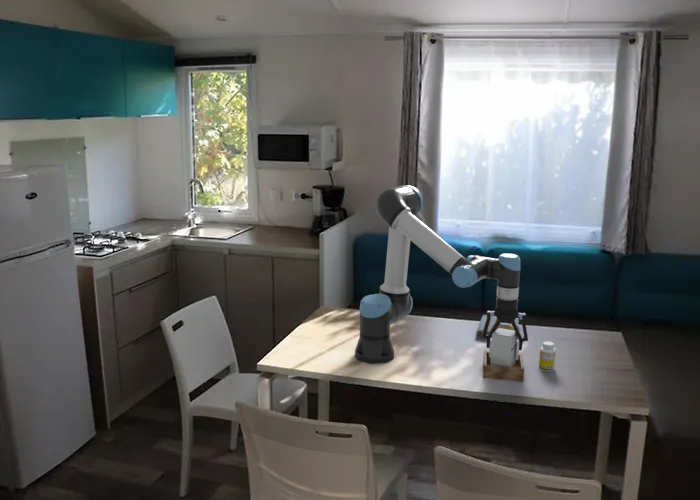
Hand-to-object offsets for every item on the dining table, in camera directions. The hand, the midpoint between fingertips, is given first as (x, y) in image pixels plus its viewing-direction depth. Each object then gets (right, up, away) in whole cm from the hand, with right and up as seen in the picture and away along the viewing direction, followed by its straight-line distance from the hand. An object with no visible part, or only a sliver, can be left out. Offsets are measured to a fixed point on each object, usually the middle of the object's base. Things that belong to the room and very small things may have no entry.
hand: (503, 357), depth 240 cm
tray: (0, -6, +1) cm, 6 cm away
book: (+8, +3, +42) cm, 43 cm away
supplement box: (0, -3, +1) cm, 3 cm away
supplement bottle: (+17, -5, +4) cm, 18 cm away
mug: (+3, -2, +19) cm, 19 cm away
